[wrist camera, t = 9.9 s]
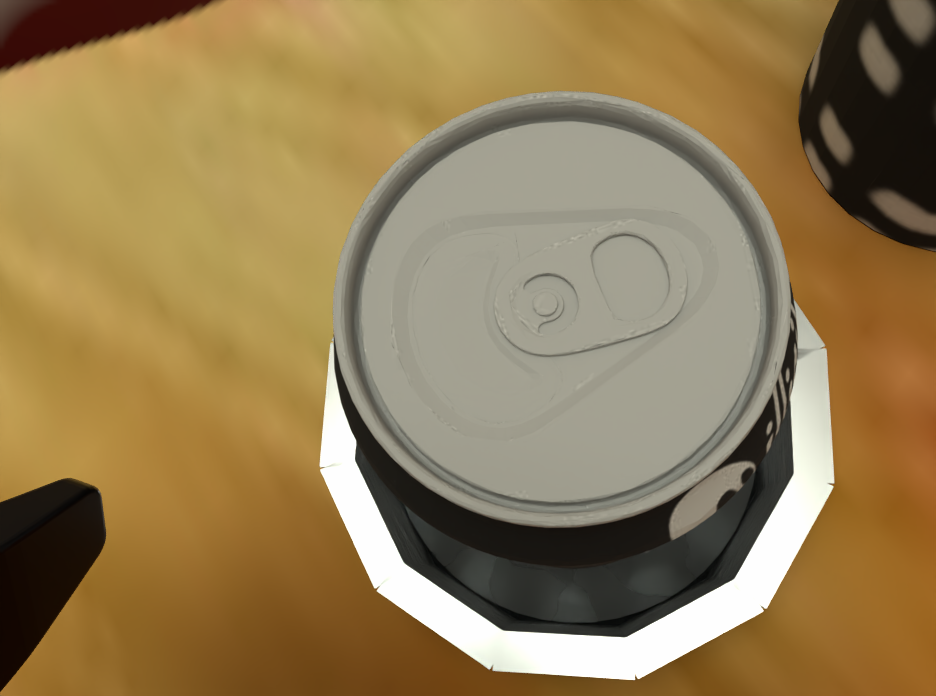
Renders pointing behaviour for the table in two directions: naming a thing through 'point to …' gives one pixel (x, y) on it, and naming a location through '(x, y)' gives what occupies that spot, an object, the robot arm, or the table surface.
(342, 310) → the beverage can
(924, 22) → the white-spotted black cylinder
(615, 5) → the table surface
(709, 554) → the can holder
